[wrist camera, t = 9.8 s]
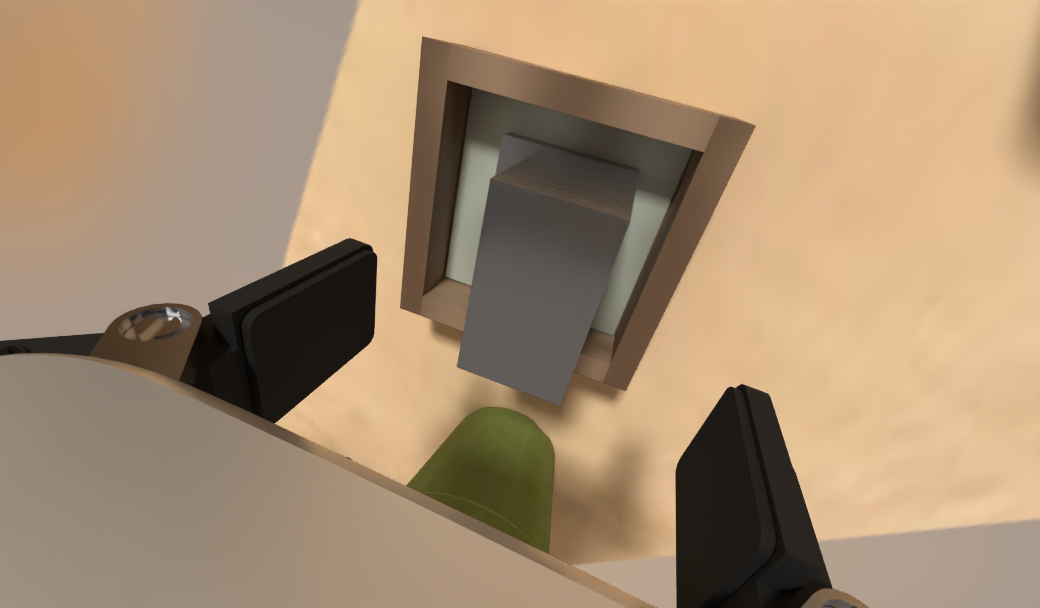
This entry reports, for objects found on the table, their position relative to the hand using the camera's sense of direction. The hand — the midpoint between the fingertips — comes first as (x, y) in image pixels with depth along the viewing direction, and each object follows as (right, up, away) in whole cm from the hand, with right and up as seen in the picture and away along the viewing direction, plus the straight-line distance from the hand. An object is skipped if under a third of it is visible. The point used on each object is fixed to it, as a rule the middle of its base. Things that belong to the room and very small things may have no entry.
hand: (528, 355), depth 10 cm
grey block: (+2, +5, +9) cm, 11 cm away
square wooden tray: (+2, +6, +10) cm, 12 cm away
